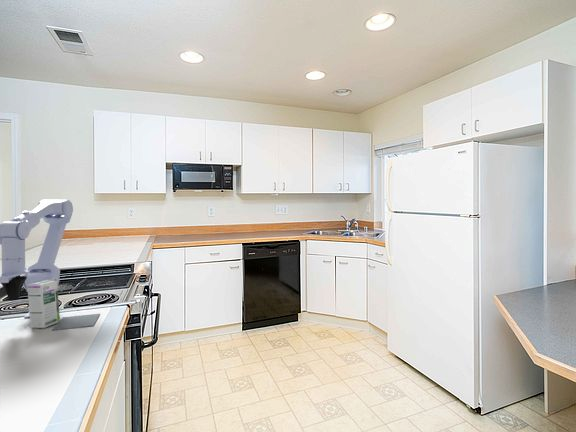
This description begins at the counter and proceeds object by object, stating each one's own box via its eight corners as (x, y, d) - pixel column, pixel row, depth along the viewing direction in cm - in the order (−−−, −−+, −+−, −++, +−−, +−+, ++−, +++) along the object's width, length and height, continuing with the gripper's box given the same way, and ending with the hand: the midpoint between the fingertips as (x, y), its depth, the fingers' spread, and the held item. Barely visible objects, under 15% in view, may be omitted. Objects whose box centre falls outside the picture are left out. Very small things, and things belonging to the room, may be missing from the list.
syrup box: (44, 328, 101) (41, 284, 101) (29, 327, 103) (27, 283, 102) (60, 322, 107) (58, 280, 107) (46, 321, 108) (43, 279, 108)
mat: (62, 318, 112) (62, 317, 112) (99, 314, 116) (99, 313, 116) (52, 330, 101) (52, 329, 101) (93, 326, 105) (93, 325, 105)
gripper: (19, 261, 96) (20, 305, 96) (37, 254, 109) (37, 292, 110) (-10, 262, 93) (-10, 307, 94) (11, 255, 107) (11, 294, 107)
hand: (14, 300), depth 101 cm, fingers closed
